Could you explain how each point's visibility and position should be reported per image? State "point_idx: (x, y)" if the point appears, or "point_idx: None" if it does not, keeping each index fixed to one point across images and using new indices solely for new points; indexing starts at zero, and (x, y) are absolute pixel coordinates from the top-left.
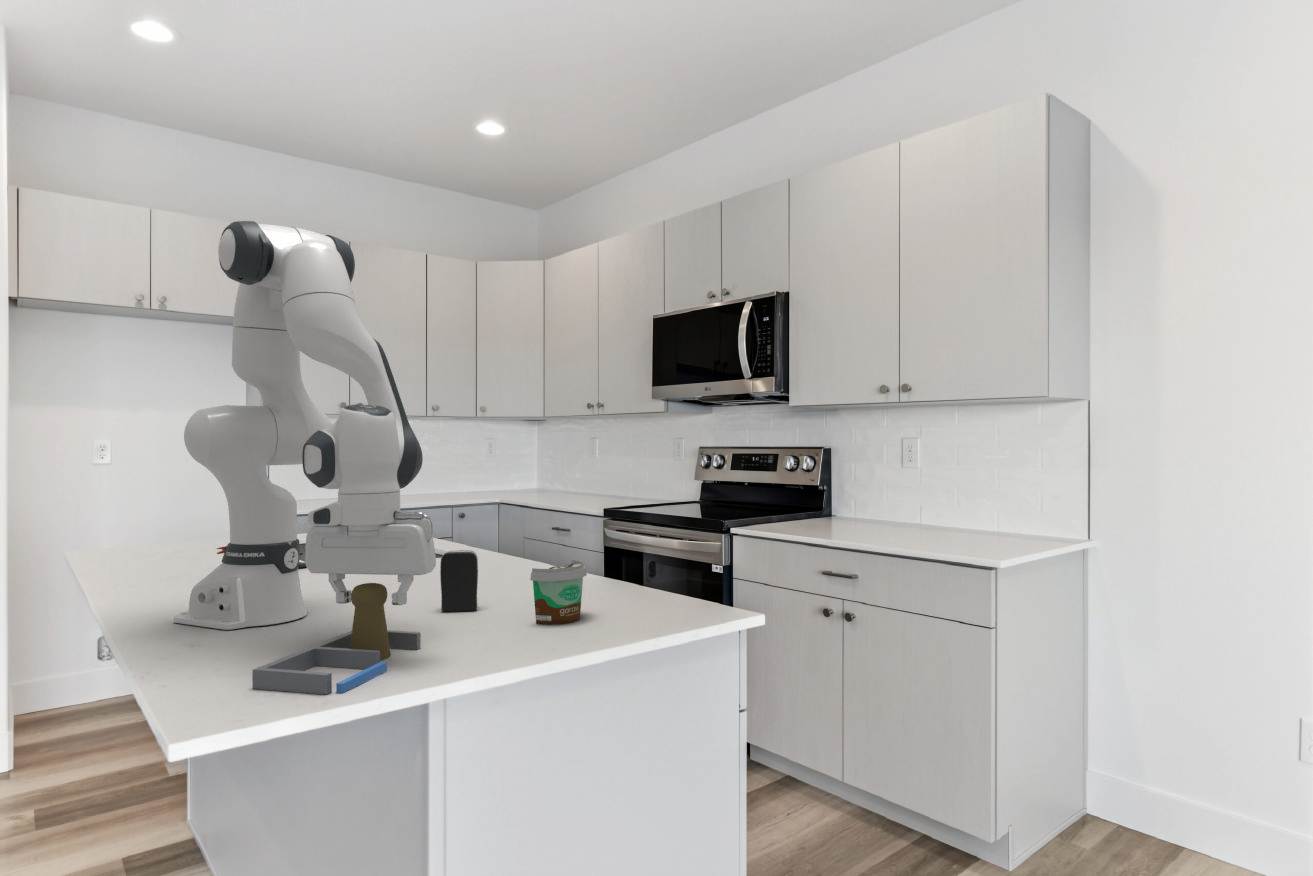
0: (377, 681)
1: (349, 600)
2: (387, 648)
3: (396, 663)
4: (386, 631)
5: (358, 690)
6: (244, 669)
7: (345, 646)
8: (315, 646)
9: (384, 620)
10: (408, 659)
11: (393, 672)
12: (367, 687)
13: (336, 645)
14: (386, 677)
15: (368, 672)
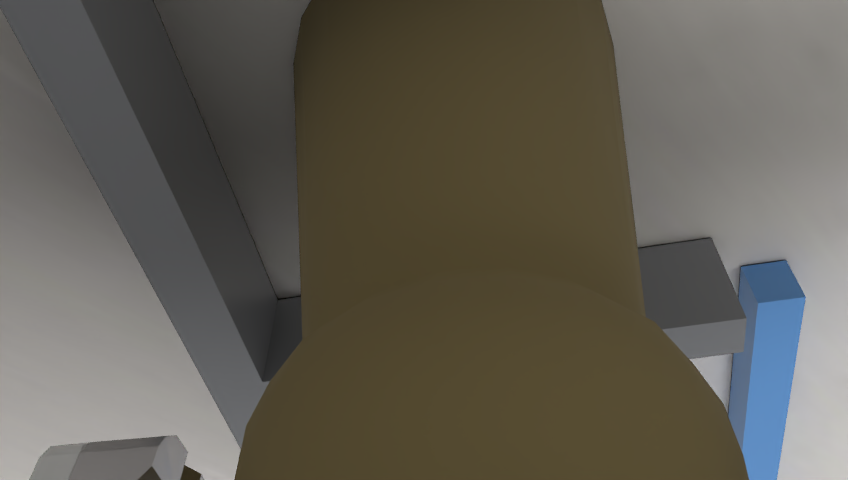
0: (824, 379)
1: (174, 464)
2: (613, 68)
3: (761, 125)
4: (619, 133)
5: (799, 468)
6: (24, 457)
7: (165, 88)
8: (232, 385)
9: (631, 220)
10: (805, 14)
11: (840, 261)
12: (820, 438)
13: (204, 211)
14: (842, 328)
15: (783, 418)
